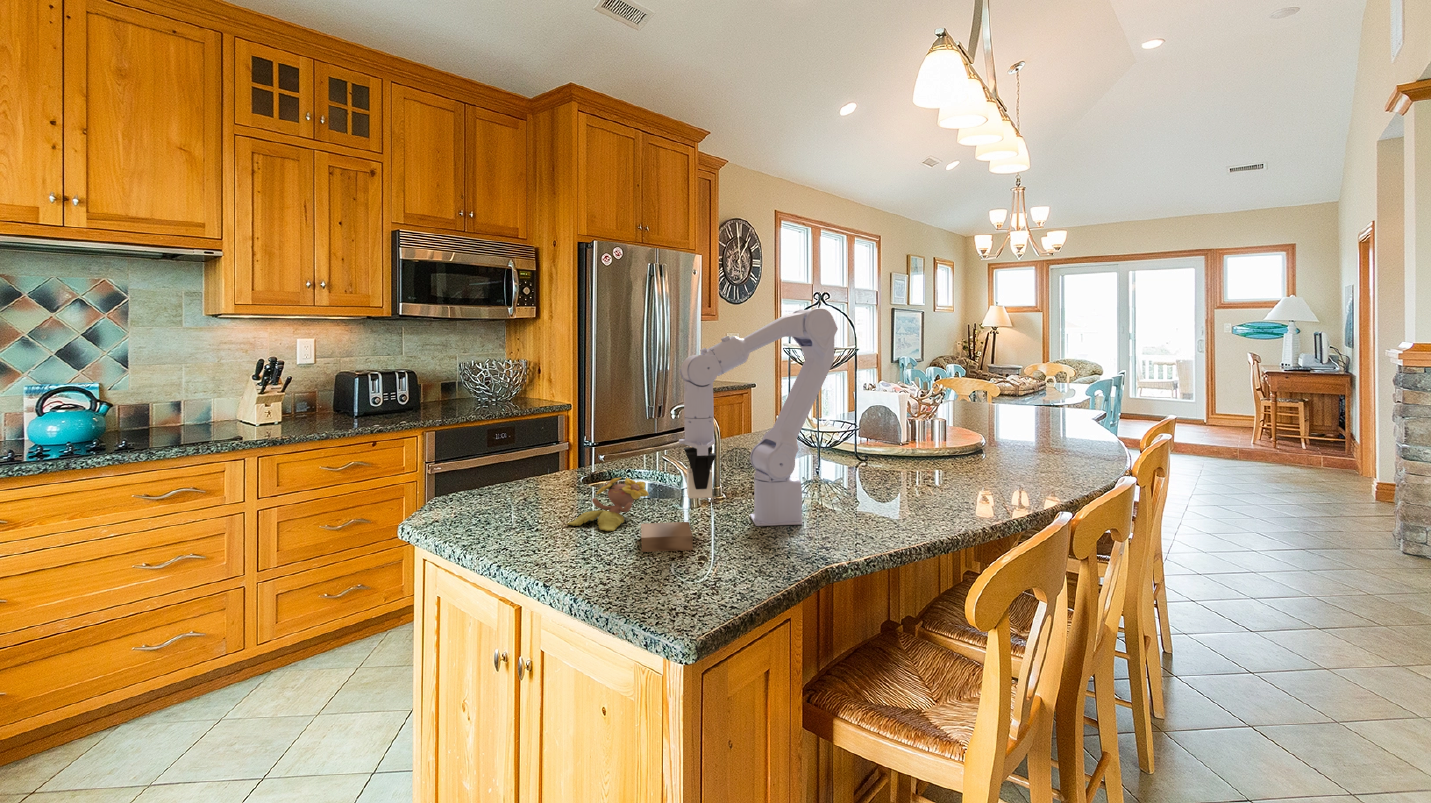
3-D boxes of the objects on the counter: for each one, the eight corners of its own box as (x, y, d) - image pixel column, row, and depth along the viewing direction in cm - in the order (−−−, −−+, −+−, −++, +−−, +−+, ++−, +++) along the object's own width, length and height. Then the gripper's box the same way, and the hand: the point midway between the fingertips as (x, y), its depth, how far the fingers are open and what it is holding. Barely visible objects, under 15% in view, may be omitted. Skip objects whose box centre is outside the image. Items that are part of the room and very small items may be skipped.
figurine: (560, 523, 137) (591, 460, 145) (583, 544, 144) (611, 483, 152) (611, 531, 132) (640, 465, 140) (632, 553, 138) (659, 489, 146)
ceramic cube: (710, 492, 137) (709, 467, 137) (712, 497, 133) (712, 472, 132) (687, 492, 137) (686, 468, 136) (688, 498, 132) (688, 472, 132)
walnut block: (688, 537, 131) (688, 521, 131) (692, 552, 122) (692, 535, 122) (641, 539, 130) (641, 523, 130) (641, 554, 121) (641, 537, 121)
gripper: (676, 413, 140) (677, 478, 141) (680, 422, 126) (681, 495, 127) (710, 412, 141) (711, 477, 142) (718, 421, 126) (719, 493, 128)
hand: (700, 485), depth 135 cm, fingers closed on ceramic cube, 5 cm apart
